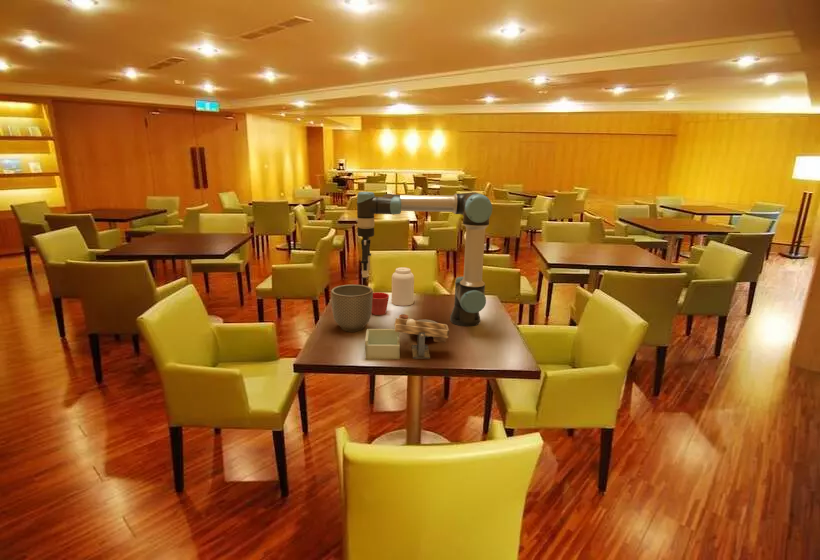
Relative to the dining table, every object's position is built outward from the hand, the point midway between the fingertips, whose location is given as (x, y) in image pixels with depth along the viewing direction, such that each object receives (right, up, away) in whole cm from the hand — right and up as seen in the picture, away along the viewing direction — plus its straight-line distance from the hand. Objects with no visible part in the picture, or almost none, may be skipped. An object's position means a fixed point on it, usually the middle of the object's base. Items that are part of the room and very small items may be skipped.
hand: (366, 273), depth 206 cm
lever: (+24, -25, -12) cm, 37 cm away
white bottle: (+16, -16, +49) cm, 54 cm away
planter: (-8, -26, +10) cm, 29 cm away
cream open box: (+9, -34, -16) cm, 38 cm away
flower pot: (+4, -21, +32) cm, 38 cm away
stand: (+25, -34, -15) cm, 44 cm away
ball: (+20, -21, -19) cm, 35 cm away
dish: (+27, -29, +2) cm, 40 cm away
